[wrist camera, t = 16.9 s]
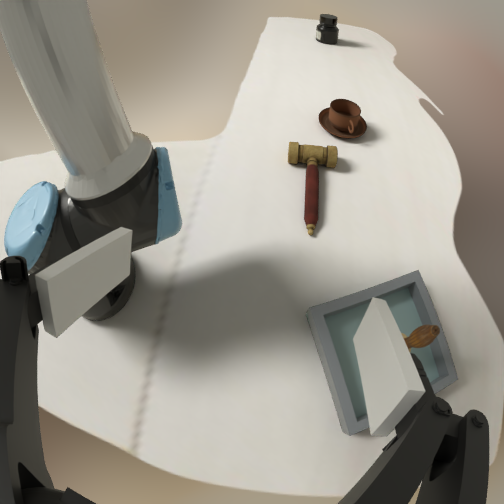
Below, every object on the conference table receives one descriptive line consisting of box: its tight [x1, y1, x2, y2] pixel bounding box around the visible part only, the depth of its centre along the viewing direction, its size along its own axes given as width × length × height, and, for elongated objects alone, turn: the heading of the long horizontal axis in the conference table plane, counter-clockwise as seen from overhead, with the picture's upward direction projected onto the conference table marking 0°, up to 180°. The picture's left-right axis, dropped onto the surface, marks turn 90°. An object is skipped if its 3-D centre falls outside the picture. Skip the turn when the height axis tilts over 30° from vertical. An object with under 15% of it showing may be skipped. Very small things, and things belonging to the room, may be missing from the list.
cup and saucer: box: [319, 99, 367, 138], centre depth 61 cm, size 12×12×6 cm
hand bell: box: [401, 325, 440, 352], centre depth 33 cm, size 8×8×16 cm
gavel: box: [288, 142, 338, 235], centre depth 54 cm, size 21×5×10 cm
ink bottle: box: [316, 14, 339, 44], centre depth 84 cm, size 10×9×12 cm
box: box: [306, 270, 458, 436], centre depth 39 cm, size 20×20×4 cm
